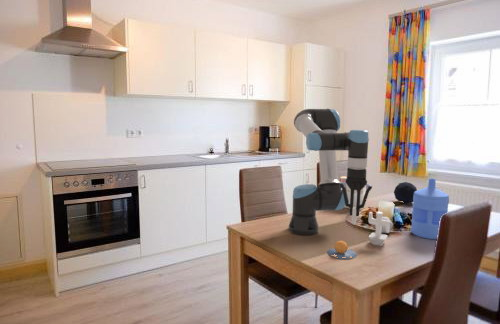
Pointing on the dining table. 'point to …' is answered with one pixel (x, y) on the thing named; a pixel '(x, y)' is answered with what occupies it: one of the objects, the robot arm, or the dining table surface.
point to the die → (384, 226)
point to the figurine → (378, 228)
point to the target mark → (346, 254)
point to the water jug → (428, 210)
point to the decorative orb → (405, 192)
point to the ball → (341, 247)
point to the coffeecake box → (343, 179)
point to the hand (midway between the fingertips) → (353, 223)
